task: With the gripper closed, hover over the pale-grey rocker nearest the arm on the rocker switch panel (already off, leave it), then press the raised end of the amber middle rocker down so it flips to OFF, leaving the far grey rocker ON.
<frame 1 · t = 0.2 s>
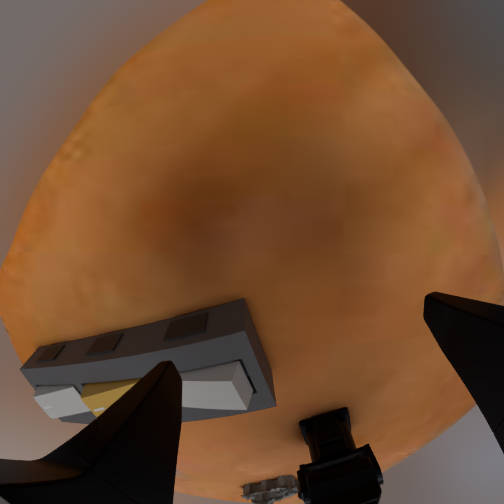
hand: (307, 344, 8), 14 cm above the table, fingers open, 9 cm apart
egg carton: (271, 483, 37), on the table
rocker switch panel: (134, 365, 26), on the table
rocker C: (63, 398, 22), point 5 cm above the table, hinge at 15.0°
rocker B: (119, 396, 21), point 5 cm above the table, hinge at 15.0°
rocker A: (204, 386, 20), point 5 cm above the table, hinge at -15.0°
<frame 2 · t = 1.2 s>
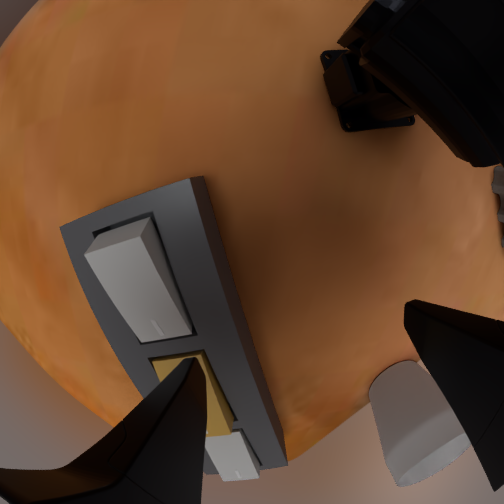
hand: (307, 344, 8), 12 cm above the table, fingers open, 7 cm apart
cup: (393, 381, 25), on the table
rocker switch panel: (203, 353, 22), on the table
rocker C: (231, 452, 20), point 5 cm above the table, hinge at 15.0°
rocker B: (195, 394, 18), point 5 cm above the table, hinge at 15.0°
rocker A: (143, 286, 15), point 5 cm above the table, hinge at -15.0°
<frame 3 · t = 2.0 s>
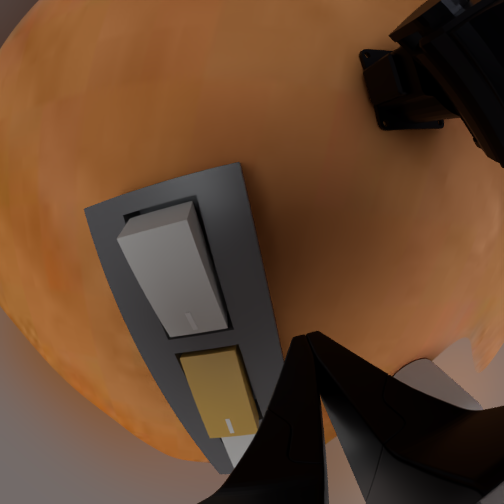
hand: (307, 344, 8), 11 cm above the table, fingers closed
cup: (408, 379, 25), on the table
rocker switch panel: (226, 349, 22), on the table
rocker C: (251, 451, 20), point 5 cm above the table, hinge at 15.0°
rocker B: (222, 391, 17), point 5 cm above the table, hinge at 15.0°
rocker A: (178, 276, 14), point 5 cm above the table, hinge at -15.0°
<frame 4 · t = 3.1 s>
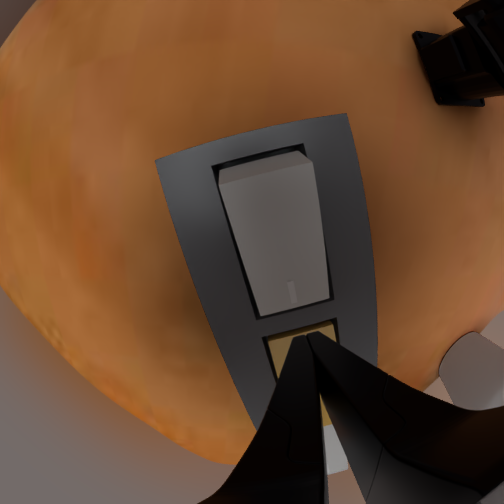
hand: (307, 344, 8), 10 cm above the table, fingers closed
cup: (459, 354, 23), on the table
rocker switch panel: (296, 333, 20), on the table
rocker C: (322, 444, 18), point 5 cm above the table, hinge at 15.0°
rocker B: (309, 377, 15), point 5 cm above the table, hinge at 15.0°
rocker A: (279, 238, 13), point 5 cm above the table, hinge at -15.0°
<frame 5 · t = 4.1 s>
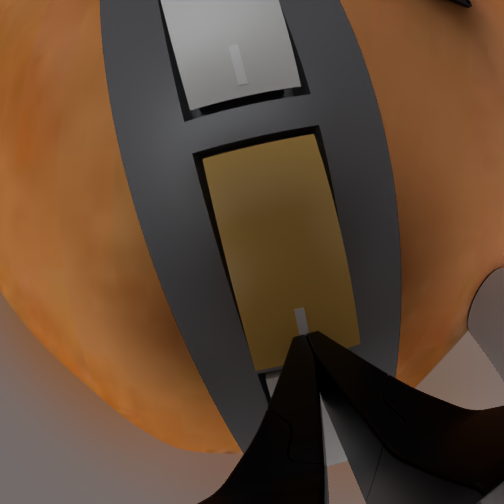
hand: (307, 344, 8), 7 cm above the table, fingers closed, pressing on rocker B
cup: (489, 301, 17), on the table
rocker switch panel: (269, 223, 14), on the table
rocker C: (314, 415, 12), point 5 cm above the table, hinge at 15.0°
rocker B: (283, 252, 9), point 5 cm above the table, hinge at 14.9°, touching gripper
rocker A: (221, 12, 7), point 5 cm above the table, hinge at -15.0°
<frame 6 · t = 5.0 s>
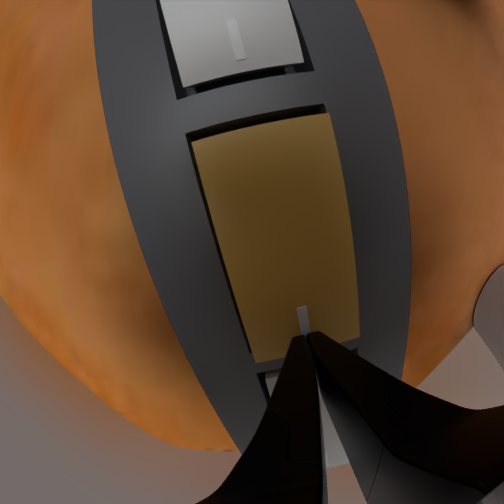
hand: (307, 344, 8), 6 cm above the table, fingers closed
cup: (494, 297, 16), on the table
rocker switch panel: (270, 211, 13), on the table
rocker C: (316, 415, 11), point 5 cm above the table, hinge at 15.0°
rocker B: (285, 242, 8), point 5 cm above the table, hinge at 0.3°
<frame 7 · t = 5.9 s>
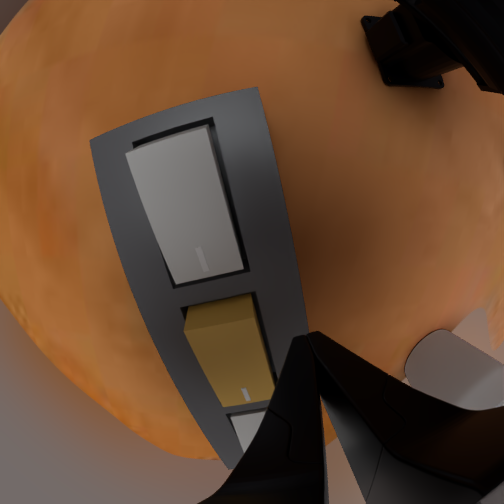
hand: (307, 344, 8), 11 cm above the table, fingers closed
cup: (428, 354, 23), on the table
rocker switch panel: (235, 316, 20), on the table
rocker C: (265, 437, 18), point 5 cm above the table, hinge at 15.0°
rocker B: (235, 357, 15), point 5 cm above the table, hinge at -7.8°
rocker A: (189, 206, 13), point 5 cm above the table, hinge at -15.0°
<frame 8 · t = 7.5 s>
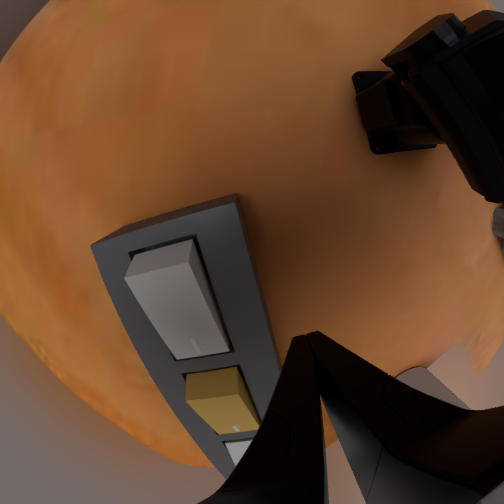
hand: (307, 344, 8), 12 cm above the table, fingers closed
cup: (404, 386, 26), on the table
rocker switch panel: (228, 364, 23), on the table
rocker C: (254, 457, 21), point 5 cm above the table, hinge at 15.0°
rocker B: (226, 405, 18), point 5 cm above the table, hinge at -14.6°
rocker A: (182, 306, 16), point 5 cm above the table, hinge at -15.0°
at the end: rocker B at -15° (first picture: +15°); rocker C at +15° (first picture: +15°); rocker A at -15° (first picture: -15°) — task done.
